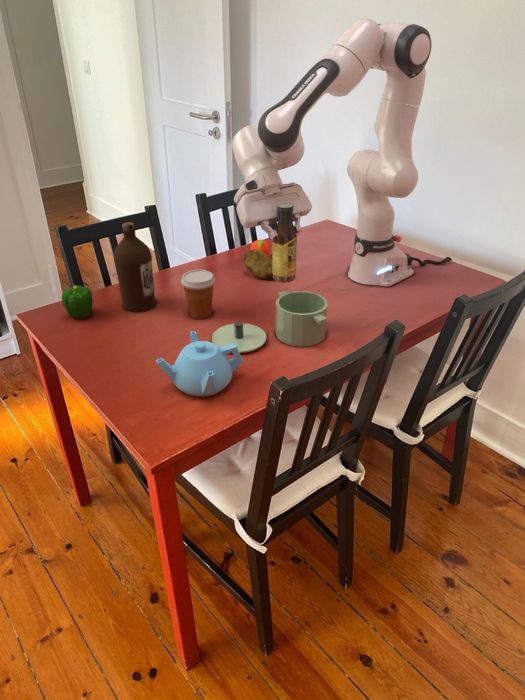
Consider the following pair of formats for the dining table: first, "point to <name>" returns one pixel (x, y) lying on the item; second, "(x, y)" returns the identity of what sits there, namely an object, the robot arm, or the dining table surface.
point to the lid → (240, 336)
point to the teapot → (202, 367)
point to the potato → (259, 264)
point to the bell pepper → (77, 301)
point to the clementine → (260, 246)
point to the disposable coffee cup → (198, 292)
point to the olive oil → (134, 271)
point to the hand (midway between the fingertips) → (286, 235)
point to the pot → (301, 318)
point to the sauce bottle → (284, 245)
